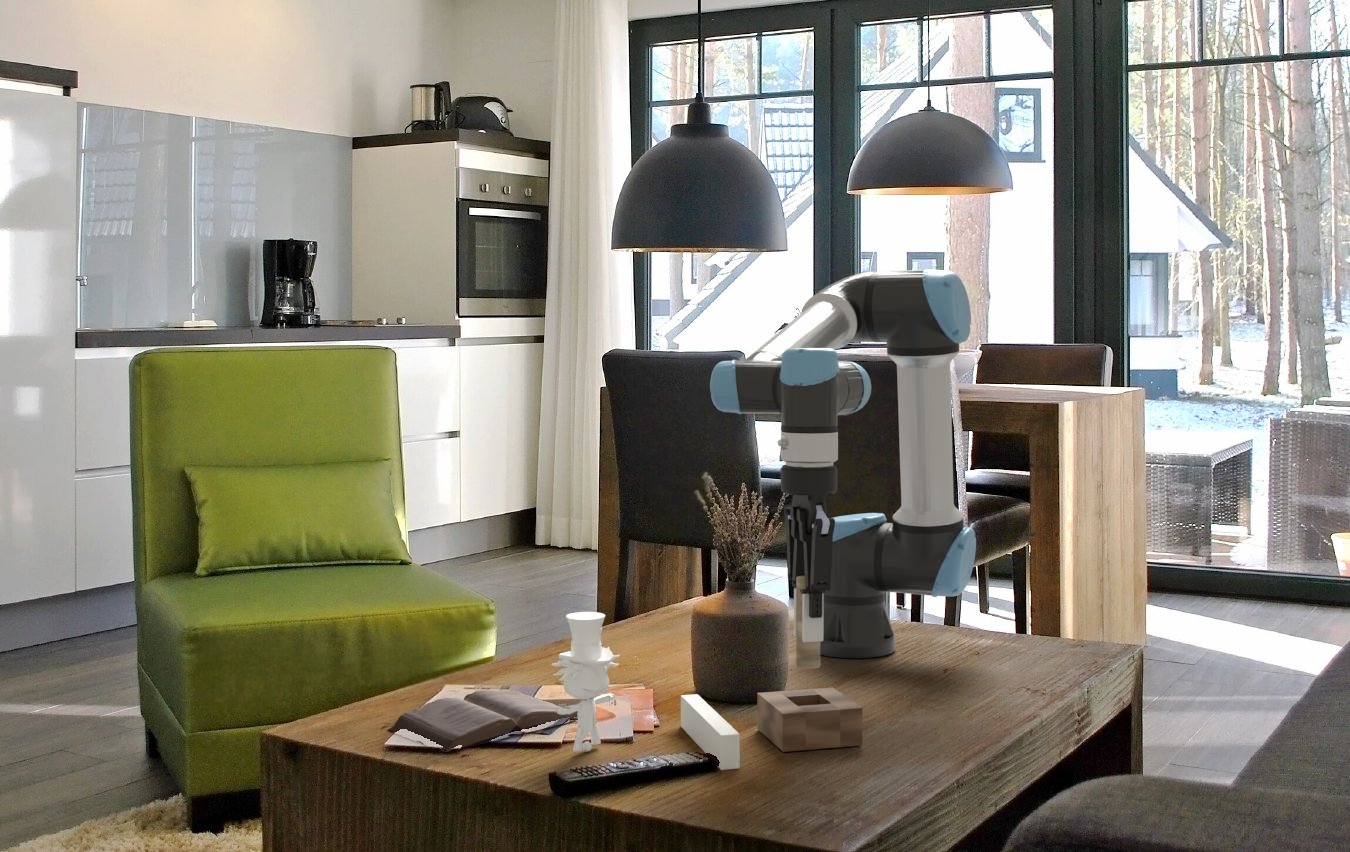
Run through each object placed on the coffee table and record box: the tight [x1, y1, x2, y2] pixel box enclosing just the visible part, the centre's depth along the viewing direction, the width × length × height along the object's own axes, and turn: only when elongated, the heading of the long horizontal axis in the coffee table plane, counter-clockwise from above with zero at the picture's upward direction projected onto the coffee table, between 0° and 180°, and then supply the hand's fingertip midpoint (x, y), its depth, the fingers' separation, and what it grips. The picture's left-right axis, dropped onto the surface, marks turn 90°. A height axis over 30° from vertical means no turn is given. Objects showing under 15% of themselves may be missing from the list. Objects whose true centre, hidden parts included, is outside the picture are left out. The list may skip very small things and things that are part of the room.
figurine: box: [551, 611, 621, 753], centre depth 183 cm, size 10×8×18 cm
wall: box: [680, 693, 741, 771], centre depth 186 cm, size 20×2×4 cm, turn 14°
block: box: [756, 686, 863, 753], centre depth 189 cm, size 11×11×5 cm
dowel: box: [795, 575, 821, 670], centre depth 188 cm, size 3×3×12 cm
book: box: [368, 689, 577, 753], centre depth 197 cm, size 20×28×4 cm
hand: (808, 638), depth 188 cm, fingers closed on dowel, 3 cm apart
